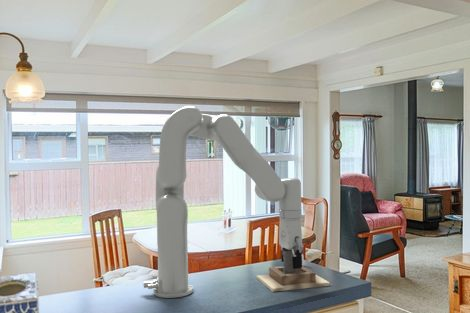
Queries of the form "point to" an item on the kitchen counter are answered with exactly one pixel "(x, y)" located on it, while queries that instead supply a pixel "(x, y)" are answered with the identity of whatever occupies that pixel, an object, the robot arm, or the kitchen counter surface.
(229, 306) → the kitchen counter surface
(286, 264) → the stone
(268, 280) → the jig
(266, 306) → the kitchen counter surface
